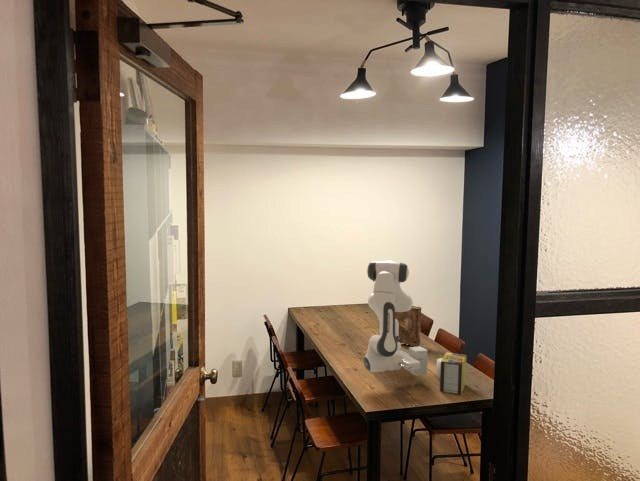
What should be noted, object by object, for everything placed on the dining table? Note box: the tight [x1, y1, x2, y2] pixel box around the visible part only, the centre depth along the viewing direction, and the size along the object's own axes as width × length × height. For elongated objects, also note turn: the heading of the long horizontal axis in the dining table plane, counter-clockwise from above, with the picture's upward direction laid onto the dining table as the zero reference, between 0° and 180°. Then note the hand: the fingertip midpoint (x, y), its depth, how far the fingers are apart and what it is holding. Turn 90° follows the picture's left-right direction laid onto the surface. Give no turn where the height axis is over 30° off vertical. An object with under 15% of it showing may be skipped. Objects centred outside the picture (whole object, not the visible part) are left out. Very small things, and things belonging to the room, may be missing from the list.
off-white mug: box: [436, 357, 443, 380], centre depth 259 cm, size 10×8×9 cm
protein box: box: [439, 352, 467, 396], centre depth 243 cm, size 10×15×16 cm
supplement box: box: [407, 345, 429, 376], centre depth 249 cm, size 7×7×13 cm
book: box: [395, 305, 422, 347], centre depth 314 cm, size 16×6×25 cm, turn 55°
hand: (419, 358), depth 249 cm, fingers closed on supplement box, 7 cm apart
